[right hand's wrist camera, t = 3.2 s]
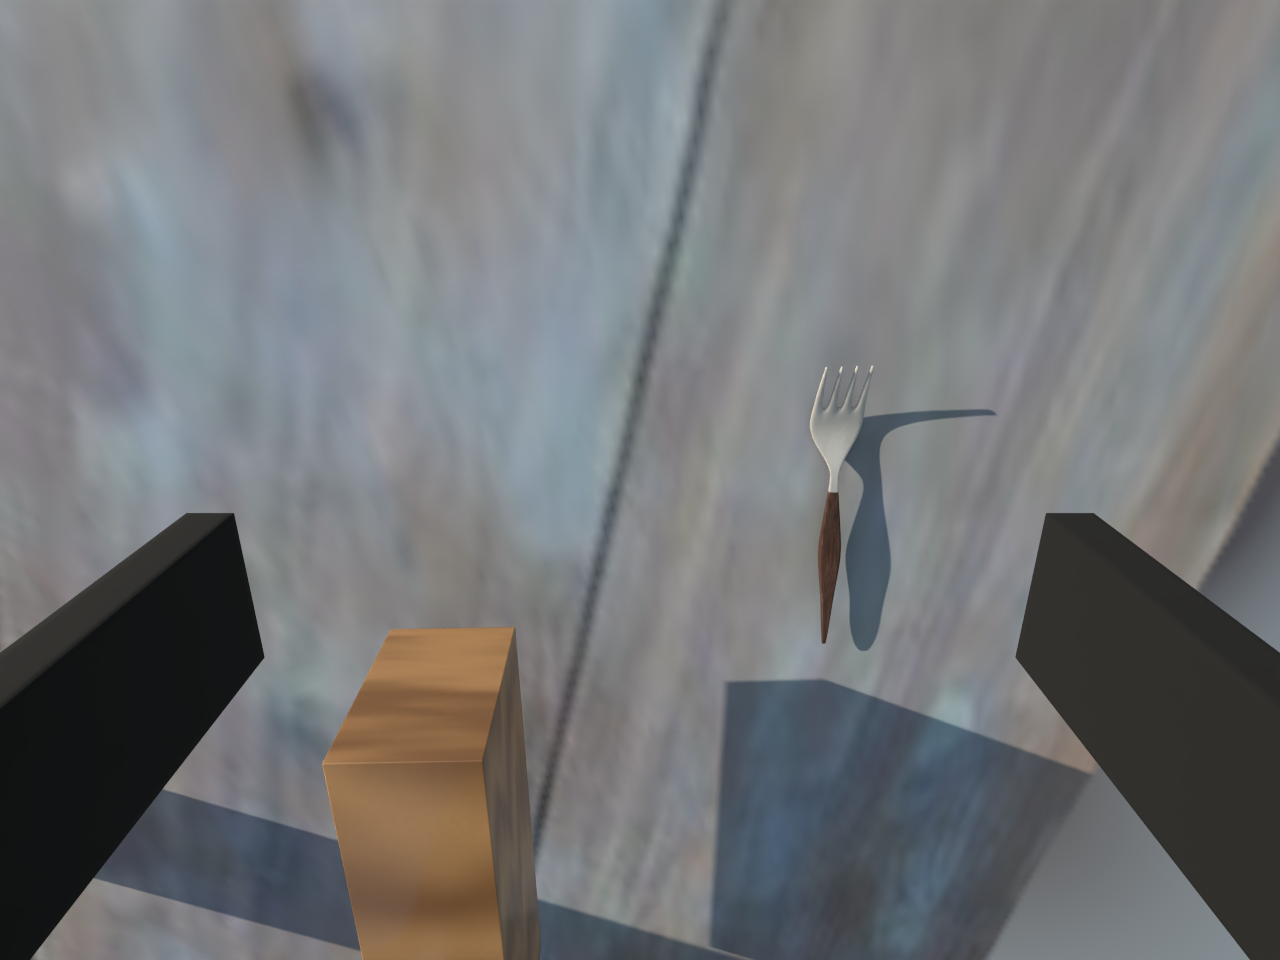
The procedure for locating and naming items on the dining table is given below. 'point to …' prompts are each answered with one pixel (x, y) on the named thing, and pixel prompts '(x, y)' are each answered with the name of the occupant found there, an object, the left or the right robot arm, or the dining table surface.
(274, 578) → the dining table surface
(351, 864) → the box
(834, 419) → the fork
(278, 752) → the dining table surface
